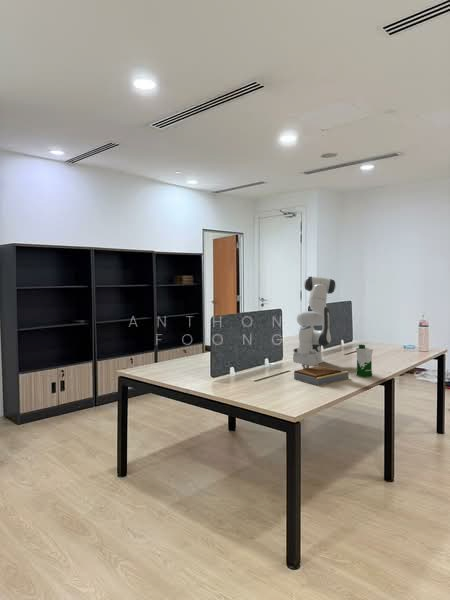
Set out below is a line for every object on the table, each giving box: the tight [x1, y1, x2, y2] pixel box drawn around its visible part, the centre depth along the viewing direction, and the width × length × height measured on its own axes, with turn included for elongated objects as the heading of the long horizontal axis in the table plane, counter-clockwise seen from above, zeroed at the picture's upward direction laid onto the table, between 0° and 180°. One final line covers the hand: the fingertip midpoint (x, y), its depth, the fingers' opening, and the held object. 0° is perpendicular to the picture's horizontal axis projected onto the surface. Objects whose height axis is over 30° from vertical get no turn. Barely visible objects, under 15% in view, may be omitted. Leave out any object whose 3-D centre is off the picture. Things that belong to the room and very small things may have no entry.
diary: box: [293, 365, 342, 378], centre depth 270 cm, size 23×19×6 cm
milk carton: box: [355, 344, 374, 378], centre depth 274 cm, size 9×9×20 cm
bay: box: [293, 366, 350, 386], centre depth 268 cm, size 20×28×5 cm
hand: (305, 371), depth 279 cm, fingers closed
